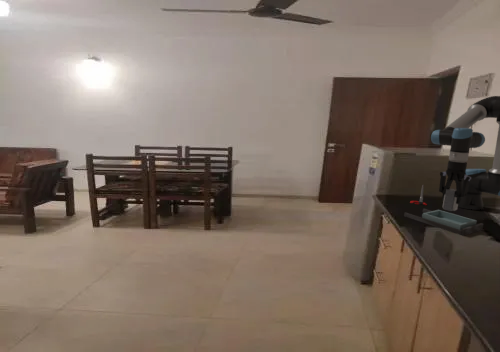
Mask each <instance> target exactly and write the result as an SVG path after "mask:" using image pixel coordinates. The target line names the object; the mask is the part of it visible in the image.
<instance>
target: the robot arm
mask: <svg viewBox="0 0 500 352" xmlns="http://www.w3.org/2000/svg"><path fill="white" fill-rule="evenodd" d="M488 118H494V119H496V123H497V124H498V129H497V130H498V131H497V136H496V137H497V138H496V143H495V149H494V155H493V162H492V168H490V169H489V170H488V171H487V169H485V168H467V165H468V161H469V156H470V155H469V153H470V150H471V149H472V148H473V149H476V148H480V147H482V146H483V145H484V143H485V142H486V137H485V135H484V134H483V133H482V132H478V131H474V130H473V129H472V128H471V127H472V126H473V125H475V124H476V123H477V122H479V121H482V120H484V119H488ZM430 139H431V143H432V144H434V145H439V146H450V150H449V155H448V161H447V166H446V170H445V171H440V173H439V175H440V180H439V187H438V192H439V193H442V197H441V201H442V202H443V203H442V207H443V206H444V200H445V194H446V189H451V186H452V184H453V182H454V183H455V190H456V194H457V196H456V197H455V198H454V204H453V210H456V211H457V210H458V208H460V209H461V208H462V209H465V210H471V209H472V210H473V211H481V210H483V209H484V202H483V201H484V200H483V198H482V195H483V193H484V194H485V193H486V194H490V195H494V196H498V197H500V95H494V96H493V95H492V96H489V97H485V98H483V99H480V100H478V101H475V102H474V103H473V104H471V105H470V106H469V107H468V108H467V111H465V112H464V113H463V114H461V115H460V116H459V117H458V118H456V120H454V121H453V122H451V123H450V124H448V125H447V126H445V128H443V129H436V130H434V131H432V133H431V136H430ZM482 208H483V209H482ZM480 209H481V210H480Z"/></svg>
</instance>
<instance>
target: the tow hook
mask: <svg viewBox="0 0 500 352" xmlns="http://www.w3.org/2000/svg"><path fill="white" fill-rule="evenodd" d="M424 187H425V186H424V184H422V186H421V190H420V197H419V201H418V200H410V202H409V203H410V204H413V203H414V204H415V205H422V206H423V205H424V206H427V205H428V204H427V203H426V202H424V201H423V200H424V190H425V189H424Z"/></svg>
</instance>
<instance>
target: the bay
mask: <svg viewBox="0 0 500 352" xmlns="http://www.w3.org/2000/svg"><path fill="white" fill-rule="evenodd" d="M431 211H432V210H431V209H427V208H422V211H421V212H422V213H426V212H431ZM403 216H404V217H405V218H408V219H412V220H415V221H416V222H417V221H418V222H421V223H424V224H426V225H429V226H432V227H436V228H438V229H440V230H441V229H442V230H445V231H447V232H450V233H453V234H457V235H459V236H462V237H463V236H466V235H471V234H473V233H476V232H479V231H482V230H483V227H484V223H483V222H481V223H476V225H473V226H470V227H466V228H463V229H461V230H459V229H456V228H453V227H450V226H446V225H443V224H440V223H437V222H434V221H431V220H428V219H425V218H422V216H419V215H414V214H412V213H408V212H407V211H405V212H404V214H403Z"/></svg>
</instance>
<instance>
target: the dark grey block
mask: <svg viewBox="0 0 500 352" xmlns="http://www.w3.org/2000/svg"><path fill="white" fill-rule="evenodd" d="M456 196H457V194H456V188H455V189H454V188H450V189H446V194H445V200H443V201H444V206H443V205H442V209H443V211H444V210H445V211H447V212H456V211H457V210H453V204H454V198H455V197H456Z"/></svg>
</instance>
